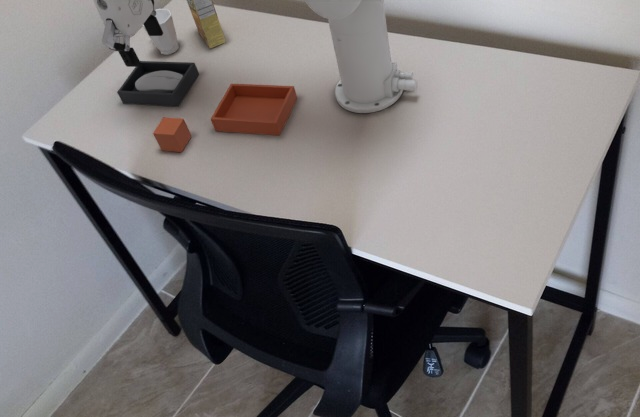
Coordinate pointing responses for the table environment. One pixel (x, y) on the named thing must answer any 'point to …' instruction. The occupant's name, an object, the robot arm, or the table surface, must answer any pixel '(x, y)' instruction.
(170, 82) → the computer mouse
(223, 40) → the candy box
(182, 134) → the terracotta block
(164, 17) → the cup
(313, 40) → the table surface
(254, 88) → the terracotta bin
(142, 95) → the charcoal bin
